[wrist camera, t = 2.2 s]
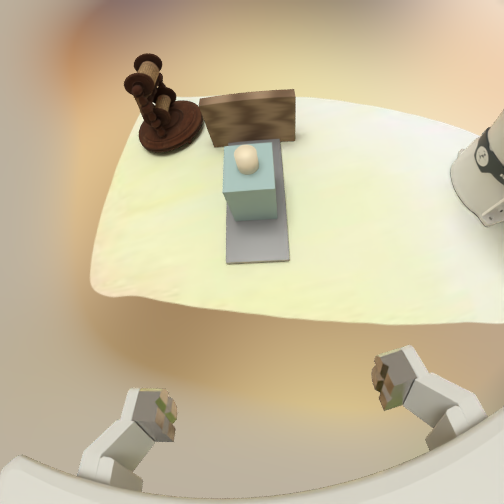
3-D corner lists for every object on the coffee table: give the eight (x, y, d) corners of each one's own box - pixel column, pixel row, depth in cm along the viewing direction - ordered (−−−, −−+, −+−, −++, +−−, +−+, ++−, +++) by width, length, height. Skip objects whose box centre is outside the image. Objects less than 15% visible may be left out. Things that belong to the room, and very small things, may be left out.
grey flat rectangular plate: (279, 141, 51) (279, 138, 50) (289, 261, 44) (289, 259, 43) (229, 145, 52) (228, 143, 51) (227, 264, 45) (226, 262, 44)
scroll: (150, 114, 58) (116, 55, 39) (207, 103, 57) (183, 35, 38) (137, 161, 54) (90, 101, 35) (201, 151, 53) (168, 76, 34)
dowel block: (274, 177, 48) (270, 129, 35) (277, 218, 45) (273, 176, 33) (235, 180, 48) (220, 133, 36) (235, 221, 46) (217, 181, 34)
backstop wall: (293, 133, 51) (293, 89, 40) (295, 140, 51) (295, 96, 39) (214, 140, 53) (199, 98, 42) (214, 147, 52) (198, 106, 41)
